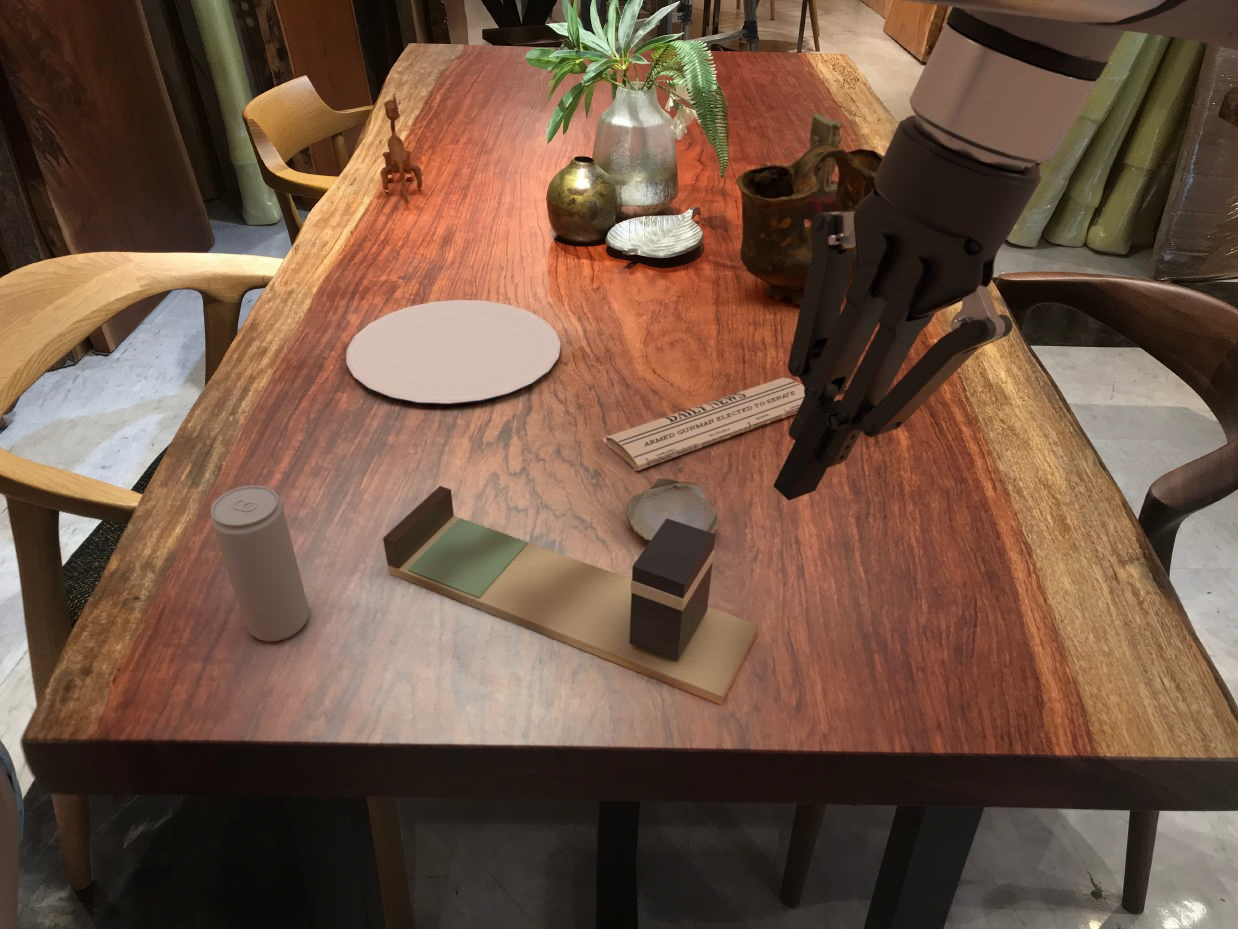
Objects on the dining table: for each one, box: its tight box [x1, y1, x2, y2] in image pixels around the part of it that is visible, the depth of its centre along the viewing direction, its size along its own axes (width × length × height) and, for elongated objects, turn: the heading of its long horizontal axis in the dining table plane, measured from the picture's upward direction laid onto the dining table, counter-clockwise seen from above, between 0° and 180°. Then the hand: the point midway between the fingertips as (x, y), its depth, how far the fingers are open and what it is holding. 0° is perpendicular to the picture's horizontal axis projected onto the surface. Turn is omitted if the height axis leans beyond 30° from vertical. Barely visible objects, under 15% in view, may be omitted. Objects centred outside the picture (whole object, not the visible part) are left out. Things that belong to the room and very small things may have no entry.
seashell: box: [626, 477, 719, 542], centre depth 80 cm, size 8×3×8 cm
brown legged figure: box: [380, 93, 423, 205], centre depth 146 cm, size 18×7×14 cm, turn 16°
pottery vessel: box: [735, 142, 884, 307], centre depth 116 cm, size 25×11×20 cm, turn 118°
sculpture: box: [805, 112, 843, 221], centre depth 143 cm, size 10×8×15 cm
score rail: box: [382, 485, 759, 705], centre depth 72 cm, size 30×8×4 cm, turn 64°
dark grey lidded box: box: [629, 518, 717, 662], centre depth 67 cm, size 4×6×8 cm
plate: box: [345, 299, 562, 406], centre depth 106 cm, size 25×25×1 cm
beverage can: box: [210, 484, 310, 642], centre depth 67 cm, size 5×5×12 cm
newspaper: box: [600, 377, 805, 472], centre depth 95 cm, size 24×7×2 cm, turn 122°
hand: (794, 488), depth 59 cm, fingers closed
